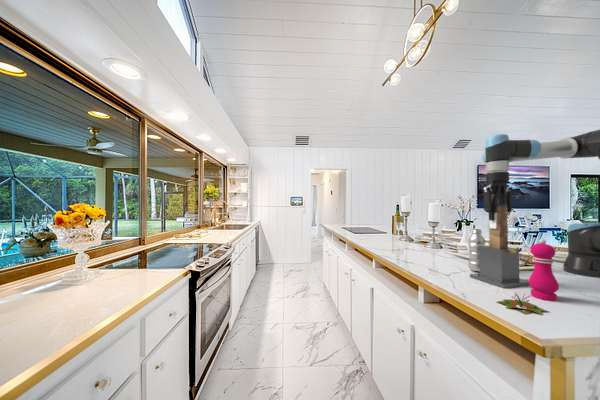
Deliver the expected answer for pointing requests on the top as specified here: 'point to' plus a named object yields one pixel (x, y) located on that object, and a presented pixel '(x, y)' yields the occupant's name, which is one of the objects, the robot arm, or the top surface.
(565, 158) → the robot arm
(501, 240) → the column
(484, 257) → the sleeve
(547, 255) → the pepper mill
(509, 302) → the lily flower
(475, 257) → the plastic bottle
